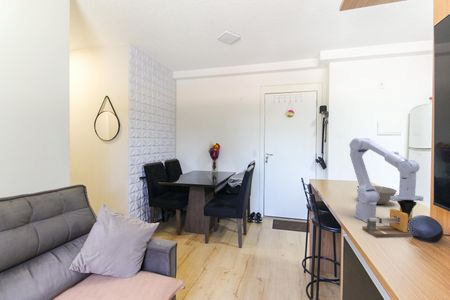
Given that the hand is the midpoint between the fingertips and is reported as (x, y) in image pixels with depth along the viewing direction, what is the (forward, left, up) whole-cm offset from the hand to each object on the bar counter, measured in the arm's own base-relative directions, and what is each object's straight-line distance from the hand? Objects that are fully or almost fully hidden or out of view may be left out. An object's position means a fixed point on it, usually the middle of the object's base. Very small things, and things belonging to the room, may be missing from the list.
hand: (405, 216), depth 103 cm
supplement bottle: (-15, +14, -8) cm, 22 cm away
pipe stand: (0, -8, -8) cm, 11 cm away
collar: (0, -4, -6) cm, 7 cm away
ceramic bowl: (-48, +23, -8) cm, 54 cm away
